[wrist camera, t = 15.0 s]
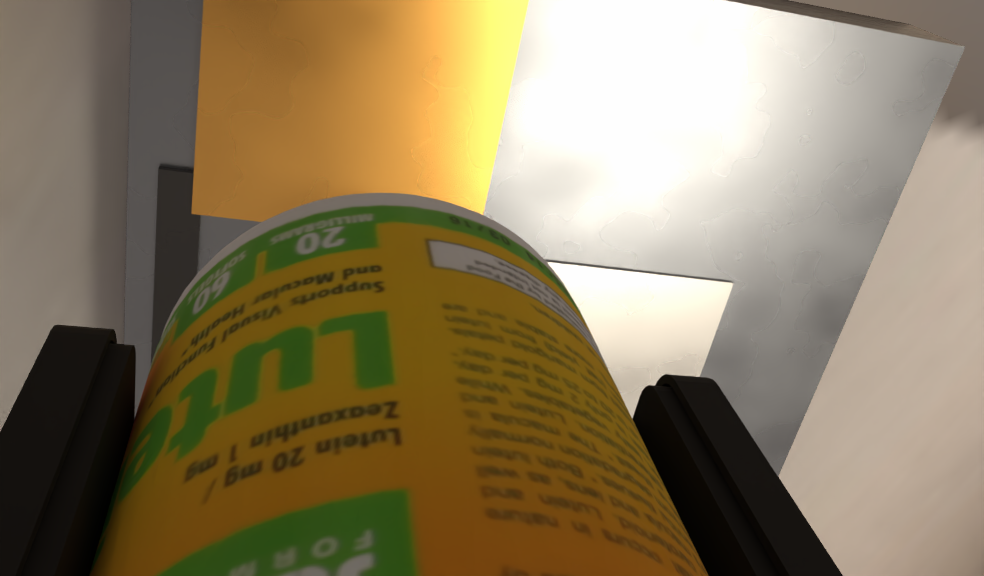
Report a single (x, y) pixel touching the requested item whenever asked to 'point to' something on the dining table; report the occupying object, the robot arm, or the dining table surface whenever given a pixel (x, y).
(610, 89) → the panel
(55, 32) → the dining table surface
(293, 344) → the supplement bottle
